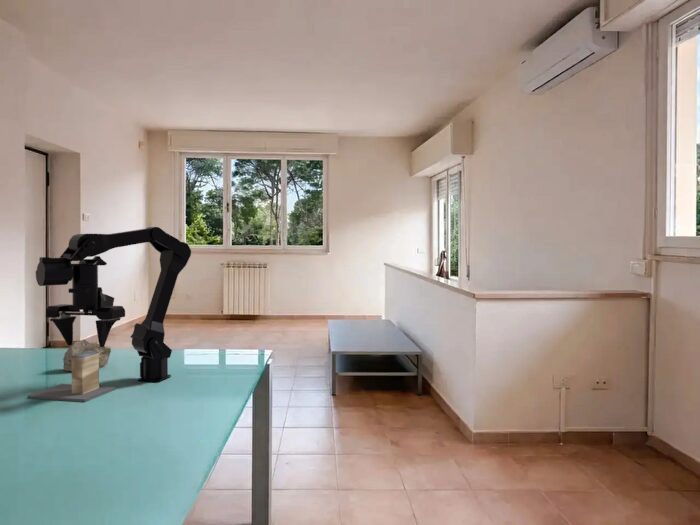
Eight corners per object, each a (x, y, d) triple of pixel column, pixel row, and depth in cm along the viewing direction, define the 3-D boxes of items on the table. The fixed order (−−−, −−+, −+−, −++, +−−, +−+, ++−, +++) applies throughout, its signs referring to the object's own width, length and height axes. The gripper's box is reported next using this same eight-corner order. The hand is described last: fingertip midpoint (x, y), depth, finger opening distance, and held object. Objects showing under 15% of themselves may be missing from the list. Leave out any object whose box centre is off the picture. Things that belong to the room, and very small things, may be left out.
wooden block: (99, 387, 132) (98, 351, 132) (82, 394, 126) (82, 356, 126) (88, 387, 132) (88, 351, 132) (71, 393, 127) (71, 355, 126)
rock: (57, 370, 148) (70, 336, 150) (59, 368, 154) (71, 336, 156) (102, 379, 153) (113, 346, 155) (102, 377, 158) (113, 345, 161)
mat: (115, 389, 133) (115, 387, 133) (84, 401, 122) (84, 399, 122) (61, 386, 136) (61, 383, 136) (27, 397, 125) (27, 395, 125)
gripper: (138, 282, 134) (138, 341, 135) (76, 281, 138) (76, 339, 139) (110, 285, 123) (110, 350, 124) (43, 284, 127) (44, 346, 128)
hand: (86, 346), depth 129 cm, fingers open, 9 cm apart
